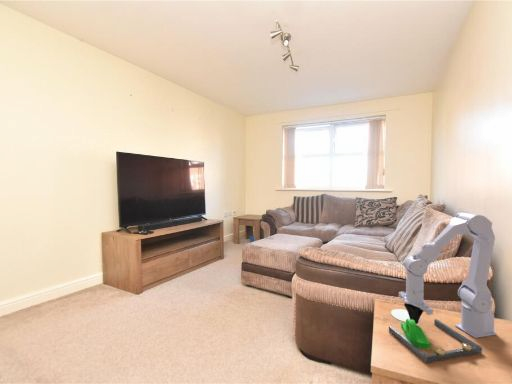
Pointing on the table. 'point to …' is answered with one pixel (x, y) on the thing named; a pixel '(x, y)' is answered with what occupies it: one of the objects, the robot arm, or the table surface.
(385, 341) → the table surface
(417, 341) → the mechanical part
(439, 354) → the grey frame
